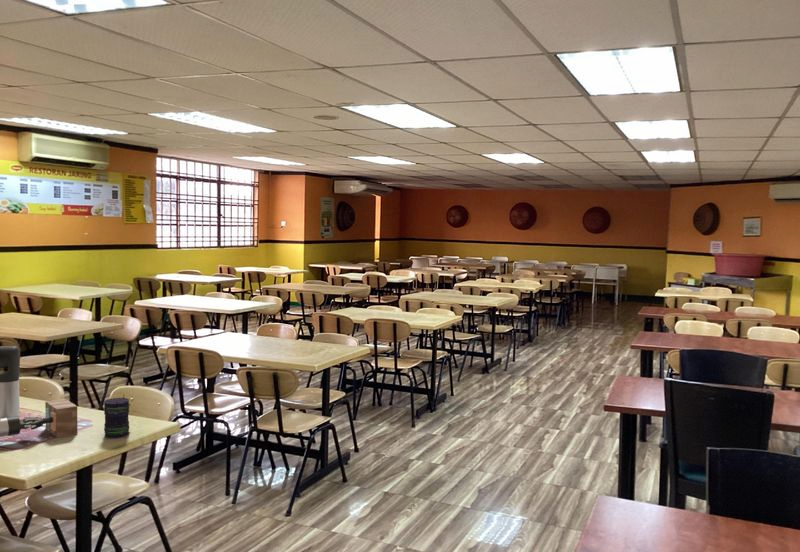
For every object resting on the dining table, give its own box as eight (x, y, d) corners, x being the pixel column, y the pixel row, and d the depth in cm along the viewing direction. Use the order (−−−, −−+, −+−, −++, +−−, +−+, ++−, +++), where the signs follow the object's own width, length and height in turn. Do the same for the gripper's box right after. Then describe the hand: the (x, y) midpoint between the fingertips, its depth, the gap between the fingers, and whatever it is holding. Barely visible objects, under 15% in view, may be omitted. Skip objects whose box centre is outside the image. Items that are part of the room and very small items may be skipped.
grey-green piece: (45, 423, 281) (45, 407, 281) (60, 421, 286) (60, 404, 285) (48, 426, 278) (48, 409, 277) (64, 423, 282) (63, 407, 282)
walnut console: (45, 428, 283) (45, 401, 282) (65, 425, 288) (65, 398, 288) (57, 437, 270) (56, 409, 270) (77, 433, 276) (77, 406, 275)
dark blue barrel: (104, 433, 278) (104, 398, 277) (129, 430, 282) (128, 397, 281) (104, 439, 268) (103, 404, 268) (129, 437, 272) (129, 402, 272)
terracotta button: (50, 428, 274) (50, 411, 274) (66, 426, 278) (65, 409, 278) (54, 431, 271) (53, 414, 270) (69, 428, 275) (69, 411, 274)
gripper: (9, 421, 255) (56, 414, 267) (1, 414, 265) (47, 407, 277) (9, 440, 256) (57, 431, 268) (1, 432, 265) (48, 424, 277)
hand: (52, 419), depth 272 cm, fingers closed
